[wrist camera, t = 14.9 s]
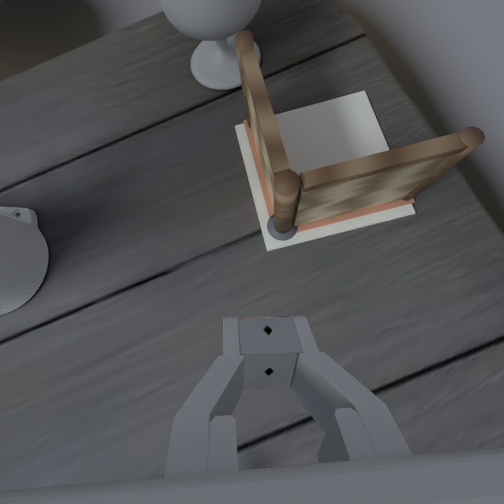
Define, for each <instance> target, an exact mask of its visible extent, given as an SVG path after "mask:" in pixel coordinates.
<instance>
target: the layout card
mask: <svg viewBox="0 0 504 504" xmlns="http://www.w3.org/2000/svg"><path fill="white" fill-rule="evenodd" d="M274 116H275V119H276V122H277V126H278V129H279V132H280V135H281V139H282V142H283V145H284V148H285V152H286V155H287V158H288V161H289V165H290V168H291V169H290V170H292V171H294V172H296V173H297V174H298V176H299V175H300V173H302V172H306V171H310V170H313V169H317V168H321V167H325V166H329V165H333V164H337V163H341V162H345V161H349V160H352V159H356V158H360V157H364V156H368V155H372V154H376V153H380V152H384V151H388V150H389V148H388V145H387V143H386V140H385V138H384V136H383V133H382V131H381V128H380V126H379V124H378V121H377V119H376V116H375V114H374V112H373V109H372V107H371V104H370V102H369V99H368V97H367V95H366V92H365V91H361V92H358V93H354V94H350V95H346V96H343V97H339V98H335V99H332V100H328V101H324V102H321V103H317V104H313V105H309V106H306V107H302V108H298V109H295V110H291V111H287V112H284V113H280V114H276V115H274ZM243 122H244V123H243V124H239V125H236V126H235V129H236V133H237V137H238V141H239V145H240V149H241V152H242V156H243V160H244V164H245V168H246V172H247V175H248V179H249V183H250V187H251V191H252V195H253V198H254V202H255V206H256V210H257V214H258V218H259V222H260V225H261V229H262V233H263V237H264V241H265V245H266V248H267V251H271V250H275V249H279V248H283V247H287V246H291V245H295V244H299V243H303V242H307V241H311V240H315V239H319V238H323V237H326V236H330V235H334V234H338V233H342V232H346V231H350V230H354V229H358V228H362V227H366V226H370V225H374V224H378V223H382V222H386V221H390V220H394V219H398V218H402V217H405V216H409V215H413V214H415V210H414V208H413V206H412V203H415V200H414V198H412V199H411V200H409V201H404V200H402V199H401V200H397V201H393V202H389V203H385V204H381V205H377V206H373V207H369V208H365V209H361V210H357V211H353V212H349V213H345V214H341V215H337V216H333V217H329V218H325V219H321V220H317V221H313V222H309V223H305V224H301V225H297V226H294V224H293V221H292V224H291V228H290V230H289V231H288V232H287V233H285V234H280V233H278V232H277V231H276V230H275V228H274V209H273V205H272V202H271V198H270V195H269V191H268V187H267V184H266V180H265V177H264V173H263V169H262V166H261V162H260V158H259V155H258V151H257V148H256V144H255V140H254V137H253V133H252V130H251V128H249V127H248V125H247V119H246V120H243Z"/></svg>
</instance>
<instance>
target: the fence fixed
mask: <svg viewBox="0 0 504 504" xmlns="http://www.w3.org/2000/svg"><path fill="white" fill-rule="evenodd" d="M235 44H236V50H237V57H238V64H239V71H240V77H241V84H242V91H243V98H244V104H245V111H246V118H247V125H248V127H249V128H251V130H252V133H253V137H254V140H255V144H256V148H257V151H258V155H259V158H260V162H261V166H262V169H263V173H264V177H265V180H266V184H267V187H268V191H269V195H270V198H271V202H272V205H273V209H274V228H275V230H276V231H277V232H278V233H280V234H285V233H287V232H288V231H289V230H290V228H291V224H292V219H293V214H294V210H295V205H296V200H297V195H298V190H299V185H300V178H299V176H298V174H297V173H296V172H294V171H292V170H290V169H291V168H290V165H289V161H288V158H287V155H286V152H285V148H284V145H283V142H282V139H281V135H280V132H279V129H278V126H277V122H276V119H275V116H274V112H273V109H272V106H271V103H270V99H269V96H268V93H267V90H266V86H265V83H264V80H263V77H262V73H261V70H260V67H259V63H258V60H257V57H256V54H255V50H254V39H253V34H252V33H251V32H250V31H247V30H243V31H240V32H238V33H237V34H236V36H235Z"/></svg>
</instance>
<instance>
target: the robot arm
mask: <svg viewBox="0 0 504 504" xmlns="http://www.w3.org/2000/svg"><path fill="white" fill-rule="evenodd" d="M48 259H49V254H48V247H47V243H46V241H45V239H44V237H43V235H42V233H41V232H40V230H39V228H38V222H37V215H36V213H35V211H34V210H31V209H28V208H18V207H1V206H0V315H2V314H5V313H8V312H11V311H13V310H15V309H17V308H19V307H20V306H22V305H23V304H24V303H26V302H27V301H28V300H29V299H30V298H31V297H32V296H33V295H34V294H35V292H36V291H37V290H38V288H39V287H40V285H41V283H42V281H43V279H44V277H45V274H46V271H47V267H48ZM263 388H291V390H292V391H293V393H294V394H295V395H296V397H297V398H298V399H299V400H300V402H301V403H302V404H303V406H304V407H305V408H306V409H307V411H308V412H309V413H310V415H311V416H312V417H313V418H314V420H315V421H316V422H317V423H318V425H319V426H320V427H321V429H322V430H323V431H324V432H325V434H326V435H325V437H324V439H323V442H322V444H321V446H320V448H319V451H318V453H317V457H318V460H319V463H313V464H302V465H291V466H279V467H268V468H256V469H245V470H238V459H237V438H236V420H235V419H234V418H233V417H232V416H231V414H232V412H233V410H234V408H235V406H236V404H237V402H238V400H239V398H240V396H241V394H242V390H251V389H263ZM0 504H504V447H496V448H485V449H473V450H462V451H451V452H439V453H428V454H416V455H413V454H412V453H411V451H410V449H409V447H408V445H407V443H406V441H405V440H404V438H403V436H402V434H401V432H400V430H399V428H398V426H397V425H396V423H395V421H394V419H393V417H392V415H391V413H390V411H389V410H388V408H387V406H386V404H385V403H383V402H382V401H381V400H380V399H379V398H378V397H376V396H375V395H374V394H373V393H372V392H370V391H369V390H368V389H367V388H366V387H364V386H363V385H362V384H361V383H360V382H359V381H357V380H356V379H355V378H354V377H353V376H351V375H350V374H349V373H348V372H347V371H346V370H344V369H343V368H342V367H341V366H340V365H338V364H337V363H336V362H335V361H334V360H332V359H331V358H330V357H329V356H328V355H327V354H325V353H324V352H319V349H318V347H317V344H316V342H315V339H314V337H313V334H312V331H311V329H310V326H309V324H308V321H307V319H306V317H305V316H270V317H238V318H237V317H224V319H223V356H218V357H217V359H216V360H215V362H214V363H213V364H212V366H211V367H210V368H209V370H208V371H207V373H206V374H205V375H204V377H203V378H202V379H201V381H200V382H199V384H198V385H197V386H196V388H195V389H194V390H193V392H192V393H191V394H190V396H189V397H188V399H187V400H186V401H185V403H184V404H183V405H182V407H181V408H180V410H179V411H178V412H177V414H176V415H175V416H174V421H173V427H172V433H171V439H170V445H169V451H168V457H167V463H166V469H165V475H164V477H154V478H143V479H131V480H120V481H109V482H97V483H86V484H75V485H63V486H52V487H41V488H29V489H18V490H6V491H0Z"/></svg>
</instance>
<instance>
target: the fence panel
mask: <svg viewBox="0 0 504 504" xmlns="http://www.w3.org/2000/svg"><path fill="white" fill-rule="evenodd" d="M484 139H485V136H484V133H483V132H482V131H481V130H480V129H478V128H476V127H467V128H465V129H464V130H463V131H462V132H458V133H454V134H450V135H446V136H442V137H438V138H434V139H430V140H427V141H423V142H419V143H415V144H411V145H407V146H403V147H399V148H395V149H391V150H388V151H384V152H380V153H376V154H372V155H368V156H364V157H360V158H356V159H352V160H349V161H345V162H341V163H337V164H333V165H329V166H325V167H321V168H317V169H313V170H310V171H306V172H302V173H300V175H299V178H300V185H299V190H298V195H297V200H296V205H295V210H294V214H293V219H292V221H293V224H294V226H297V225H301V224H305V223H309V222H313V221H317V220H321V219H325V218H329V217H333V216H337V215H341V214H345V213H349V212H353V211H357V210H361V209H365V208H369V207H373V206H377V205H381V204H385V203H389V202H393V201H397V200H401V199H402V200H404V201H409V200H411V199H412V198H413V197H415V196H416V195H417V194H418V193H420V192H421V191H422V190H424V189H425V188H426V187H427V186H429V185H430V184H431V183H432V182H434V181H435V180H436V179H437V178H439V177H440V176H441V175H443V174H444V173H445V172H446V171H448V170H449V169H450V168H451V167H453V166H454V165H455V164H456V163H458V162H459V161H460V160H462V159H463V158H464V157H465V156H467V155H468V154H469V153H470V152H472V151H473V150H474V149H475V148H477V147H478V146H479V145H480V144H482V143H483V141H484Z"/></svg>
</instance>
